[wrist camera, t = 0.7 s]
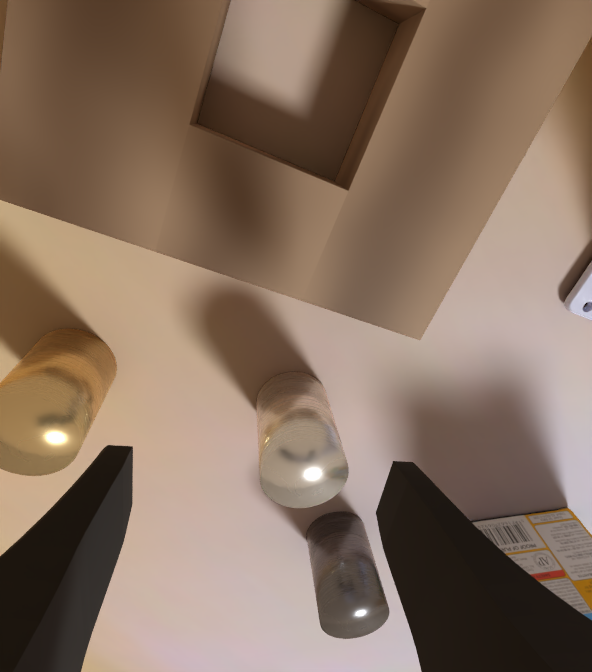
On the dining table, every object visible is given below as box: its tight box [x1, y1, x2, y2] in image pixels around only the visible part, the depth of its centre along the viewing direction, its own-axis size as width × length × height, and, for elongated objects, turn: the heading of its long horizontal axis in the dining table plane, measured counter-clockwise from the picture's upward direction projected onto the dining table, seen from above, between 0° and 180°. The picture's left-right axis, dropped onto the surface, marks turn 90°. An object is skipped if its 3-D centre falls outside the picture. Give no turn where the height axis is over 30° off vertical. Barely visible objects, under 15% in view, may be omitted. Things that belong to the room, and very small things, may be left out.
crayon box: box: [472, 508, 592, 620], centre depth 23 cm, size 7×3×12 cm, turn 93°
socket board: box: [0, 0, 592, 340], centre depth 14 cm, size 16×14×2 cm
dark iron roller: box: [307, 512, 389, 639], centre depth 24 cm, size 4×4×5 cm
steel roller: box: [256, 372, 348, 508], centre depth 19 cm, size 4×4×5 cm
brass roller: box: [0, 329, 117, 476], centre depth 17 cm, size 4×4×5 cm
